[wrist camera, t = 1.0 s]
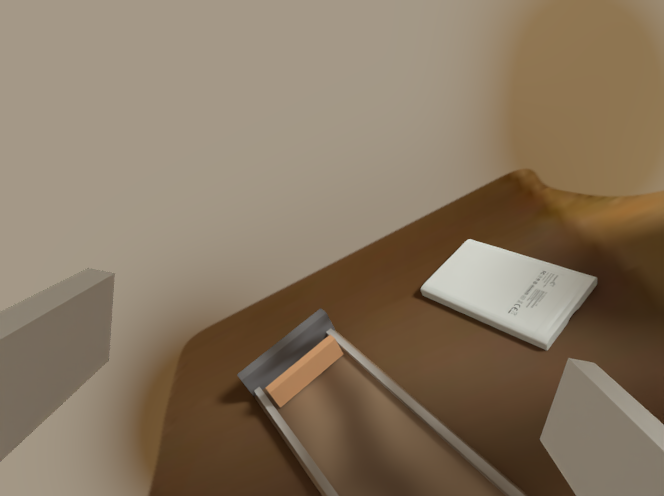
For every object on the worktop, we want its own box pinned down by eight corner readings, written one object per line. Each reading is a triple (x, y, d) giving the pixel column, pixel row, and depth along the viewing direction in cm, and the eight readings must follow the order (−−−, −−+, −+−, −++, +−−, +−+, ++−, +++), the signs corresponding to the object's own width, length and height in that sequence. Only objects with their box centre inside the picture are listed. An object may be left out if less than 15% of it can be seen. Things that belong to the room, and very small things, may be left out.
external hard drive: (471, 249, 46) (597, 288, 37) (423, 299, 43) (547, 356, 34) (469, 237, 45) (597, 274, 36) (419, 287, 42) (546, 342, 33)
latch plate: (338, 349, 40) (330, 334, 39) (343, 354, 39) (335, 338, 38) (276, 402, 38) (265, 387, 36) (280, 407, 37) (269, 393, 36)
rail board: (331, 329, 43) (320, 308, 42) (561, 528, 25) (558, 505, 23) (252, 394, 40) (237, 374, 39) (445, 674, 22) (432, 660, 20)
